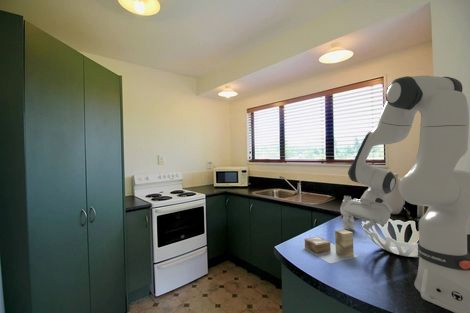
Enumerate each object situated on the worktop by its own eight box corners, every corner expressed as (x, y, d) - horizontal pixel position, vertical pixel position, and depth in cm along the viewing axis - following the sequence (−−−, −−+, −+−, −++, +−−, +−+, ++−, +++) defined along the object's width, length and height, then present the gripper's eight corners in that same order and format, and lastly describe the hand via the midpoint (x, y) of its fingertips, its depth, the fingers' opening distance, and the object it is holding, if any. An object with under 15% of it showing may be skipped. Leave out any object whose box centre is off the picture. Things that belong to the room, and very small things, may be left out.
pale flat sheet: (359, 258, 93) (359, 256, 93) (330, 266, 87) (330, 263, 87) (328, 243, 110) (327, 241, 110) (301, 248, 104) (301, 246, 104)
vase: (376, 212, 166) (375, 173, 166) (390, 210, 170) (389, 172, 170) (394, 216, 153) (392, 174, 153) (408, 214, 157) (407, 173, 157)
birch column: (353, 255, 94) (352, 232, 94) (344, 257, 92) (344, 234, 92) (344, 251, 98) (343, 229, 98) (335, 252, 97) (335, 230, 97)
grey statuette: (356, 231, 125) (355, 197, 125) (344, 231, 126) (343, 197, 127) (352, 228, 131) (351, 195, 132) (341, 227, 133) (340, 195, 133)
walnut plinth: (330, 250, 99) (330, 241, 99) (316, 254, 96) (316, 244, 96) (318, 244, 106) (318, 236, 106) (304, 247, 104) (304, 238, 104)
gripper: (348, 194, 110) (334, 215, 107) (389, 201, 91) (373, 228, 88) (355, 202, 112) (341, 223, 108) (396, 211, 93) (381, 237, 89)
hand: (356, 225), depth 98 cm, fingers open, 8 cm apart
